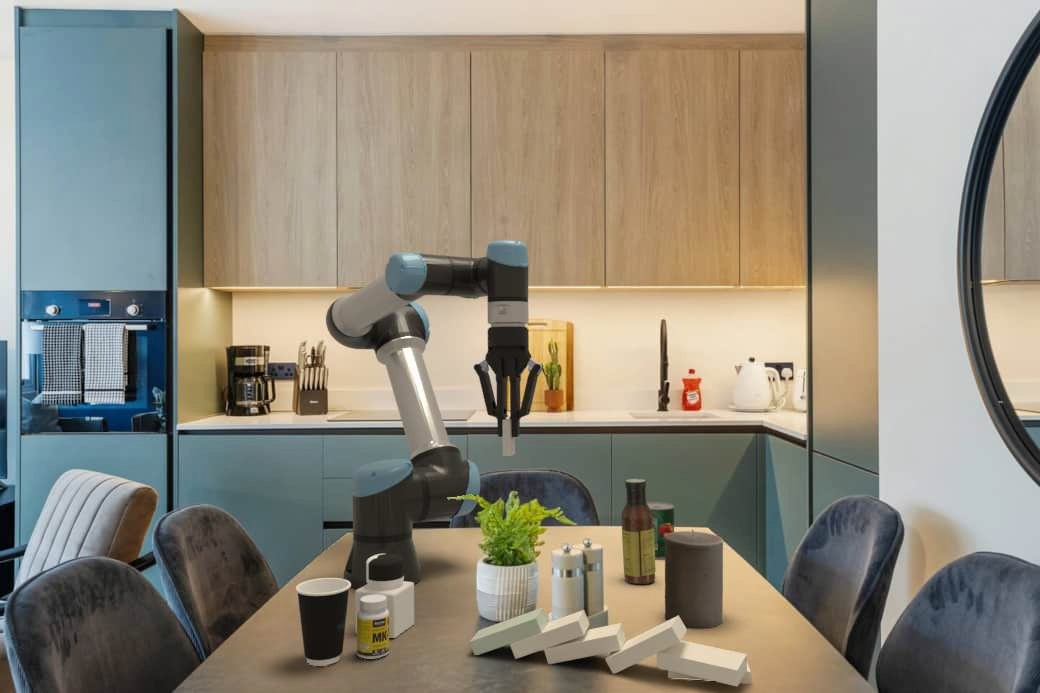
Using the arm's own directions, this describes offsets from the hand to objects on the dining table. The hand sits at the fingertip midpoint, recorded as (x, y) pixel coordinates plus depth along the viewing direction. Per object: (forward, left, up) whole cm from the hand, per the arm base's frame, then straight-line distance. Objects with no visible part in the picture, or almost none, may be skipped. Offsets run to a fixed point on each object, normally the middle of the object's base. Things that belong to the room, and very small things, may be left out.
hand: (508, 454), depth 141 cm
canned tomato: (+22, +39, -27) cm, 52 cm away
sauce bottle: (+21, +18, -27) cm, 38 cm away
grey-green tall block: (+2, -24, -25) cm, 35 cm away
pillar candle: (+33, -1, -27) cm, 42 cm away
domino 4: (+30, -25, -24) cm, 46 cm away
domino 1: (+9, -24, -25) cm, 36 cm away
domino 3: (+23, -25, -26) cm, 43 cm away
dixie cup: (-18, -34, -27) cm, 47 cm away
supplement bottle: (-12, -30, -27) cm, 42 cm away
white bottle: (-15, -20, -27) cm, 37 cm away
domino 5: (+31, -24, -26) cm, 47 cm away
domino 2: (+14, -24, -25) cm, 38 cm away
